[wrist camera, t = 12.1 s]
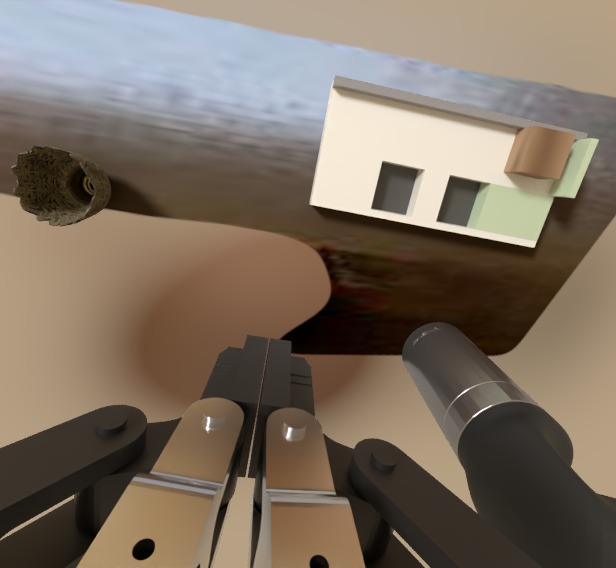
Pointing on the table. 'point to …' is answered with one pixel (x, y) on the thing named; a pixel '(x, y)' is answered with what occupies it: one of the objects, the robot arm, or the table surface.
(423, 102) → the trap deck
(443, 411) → the robot arm
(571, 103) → the table surface
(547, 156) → the walnut block
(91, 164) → the cup
